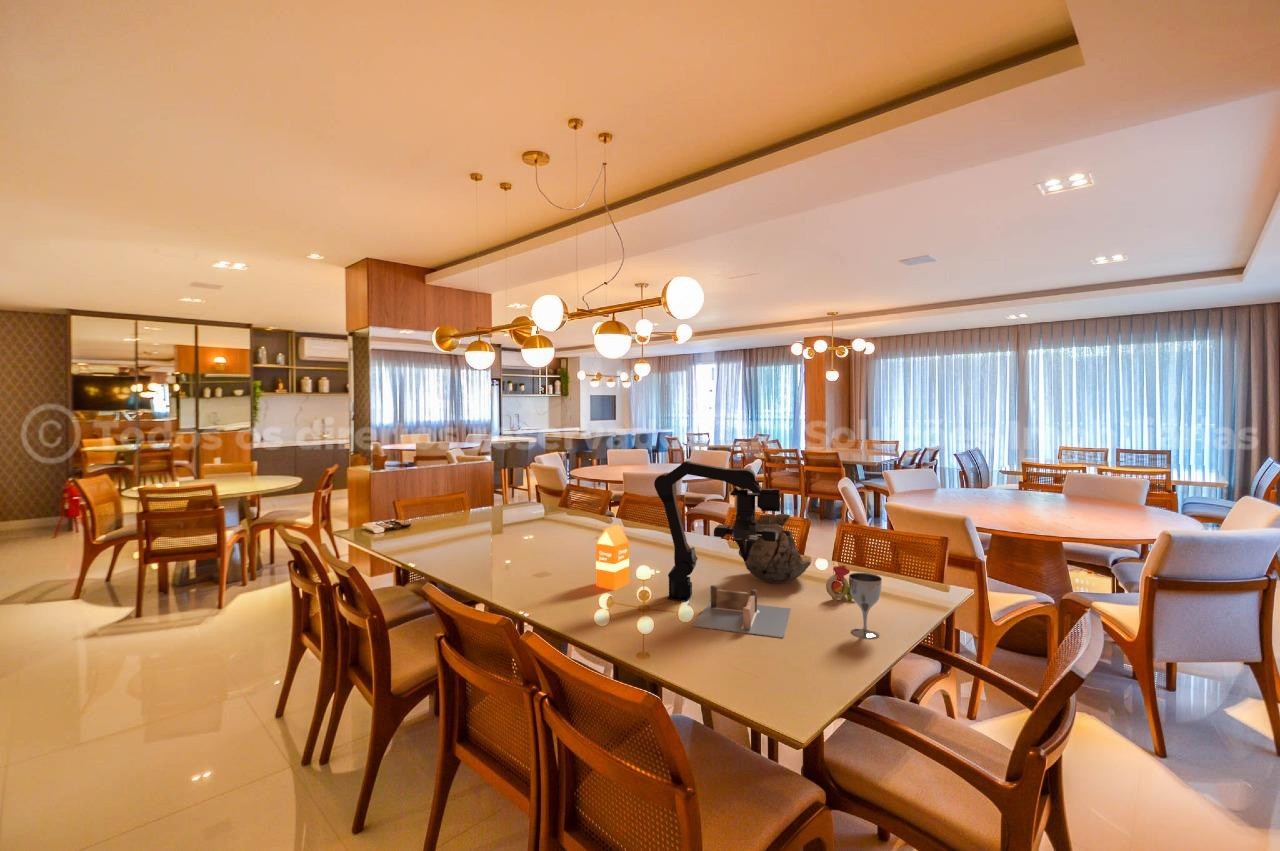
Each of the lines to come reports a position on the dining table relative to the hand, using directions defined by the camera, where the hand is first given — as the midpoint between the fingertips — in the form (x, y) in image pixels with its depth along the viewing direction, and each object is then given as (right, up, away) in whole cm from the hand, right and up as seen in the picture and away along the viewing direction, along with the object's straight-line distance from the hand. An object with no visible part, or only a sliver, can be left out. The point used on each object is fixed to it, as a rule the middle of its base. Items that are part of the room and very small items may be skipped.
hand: (745, 560), depth 171 cm
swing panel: (-2, -13, -16) cm, 21 cm away
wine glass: (+27, -14, -24) cm, 39 cm away
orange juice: (-42, -13, +19) cm, 47 cm away
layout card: (-3, -13, -12) cm, 18 cm away
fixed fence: (-5, -13, -6) cm, 15 cm away
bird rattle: (+30, -13, +2) cm, 33 cm away
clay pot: (+14, -12, +23) cm, 30 cm away
